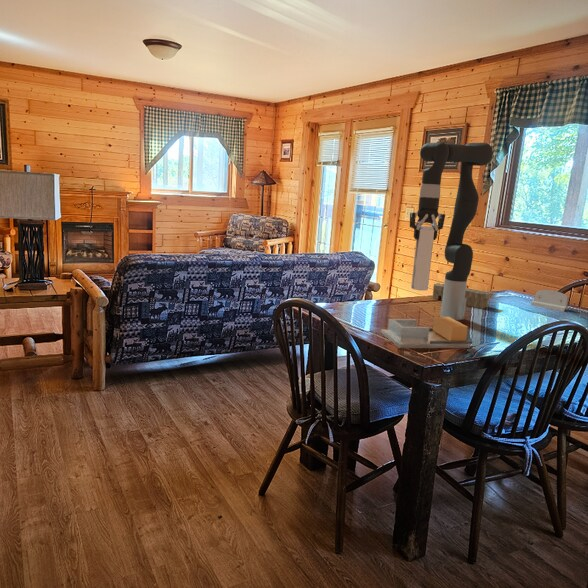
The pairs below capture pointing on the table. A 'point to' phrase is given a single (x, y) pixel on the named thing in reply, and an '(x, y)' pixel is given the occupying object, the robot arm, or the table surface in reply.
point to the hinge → (551, 300)
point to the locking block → (450, 329)
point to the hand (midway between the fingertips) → (424, 239)
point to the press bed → (418, 336)
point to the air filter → (422, 258)
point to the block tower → (466, 296)
